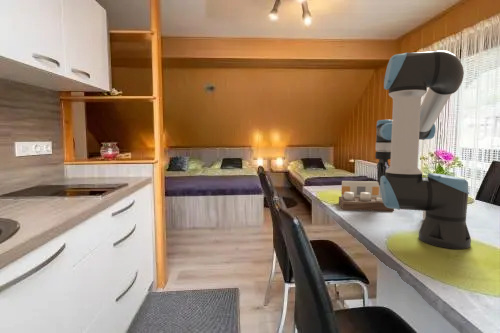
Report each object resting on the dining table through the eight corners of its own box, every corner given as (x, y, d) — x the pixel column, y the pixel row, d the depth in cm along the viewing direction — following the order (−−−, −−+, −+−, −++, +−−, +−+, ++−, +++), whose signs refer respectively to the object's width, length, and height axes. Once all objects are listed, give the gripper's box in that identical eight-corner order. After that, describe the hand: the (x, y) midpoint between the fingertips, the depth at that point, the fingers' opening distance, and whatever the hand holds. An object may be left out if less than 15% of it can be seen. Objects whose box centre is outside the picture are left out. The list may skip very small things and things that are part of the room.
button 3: (354, 202, 146) (355, 193, 146) (344, 201, 147) (345, 193, 147) (352, 199, 151) (352, 191, 151) (343, 199, 152) (343, 191, 151)
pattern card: (380, 203, 156) (381, 181, 154) (341, 202, 158) (341, 181, 157) (379, 203, 157) (380, 181, 156) (340, 202, 160) (341, 180, 158)
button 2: (371, 202, 145) (371, 194, 145) (361, 202, 146) (361, 193, 146) (368, 200, 150) (369, 192, 150) (359, 200, 151) (359, 191, 150)
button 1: (387, 208, 145) (388, 199, 144) (377, 207, 145) (378, 199, 145) (384, 205, 149) (385, 197, 149) (374, 205, 150) (375, 197, 149)
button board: (393, 211, 141) (394, 203, 140) (342, 209, 144) (343, 201, 144) (385, 205, 153) (385, 197, 152) (338, 203, 156) (338, 196, 155)
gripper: (396, 151, 137) (394, 200, 140) (387, 150, 150) (385, 195, 153) (379, 151, 138) (377, 200, 141) (372, 150, 151) (370, 194, 154)
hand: (381, 197), depth 147 cm, fingers closed
